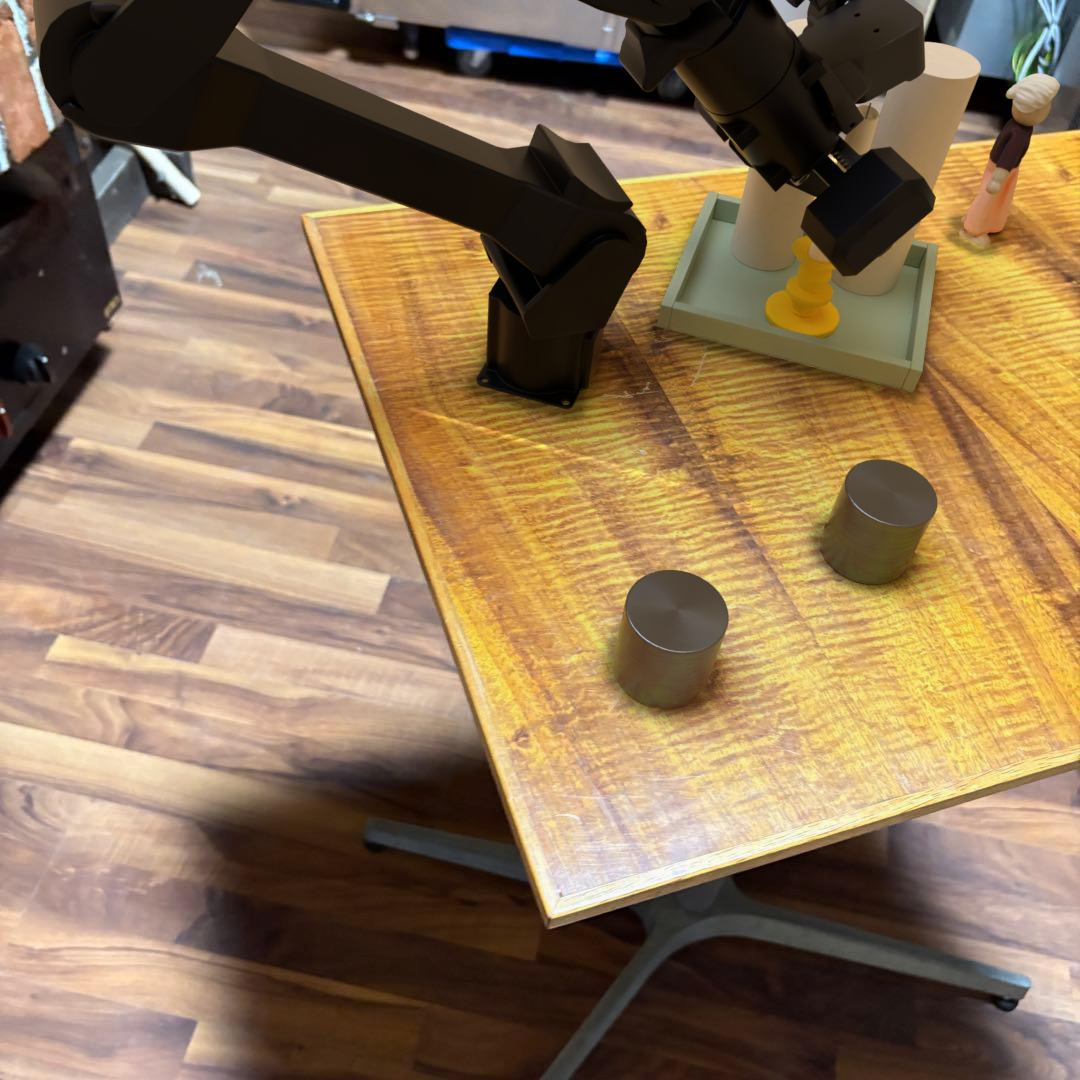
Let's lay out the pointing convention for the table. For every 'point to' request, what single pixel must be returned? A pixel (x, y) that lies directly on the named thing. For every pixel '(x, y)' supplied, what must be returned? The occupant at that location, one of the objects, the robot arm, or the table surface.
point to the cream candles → (904, 124)
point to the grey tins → (701, 613)
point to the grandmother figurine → (1008, 157)
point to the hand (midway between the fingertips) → (857, 221)
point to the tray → (742, 292)
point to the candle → (816, 266)
